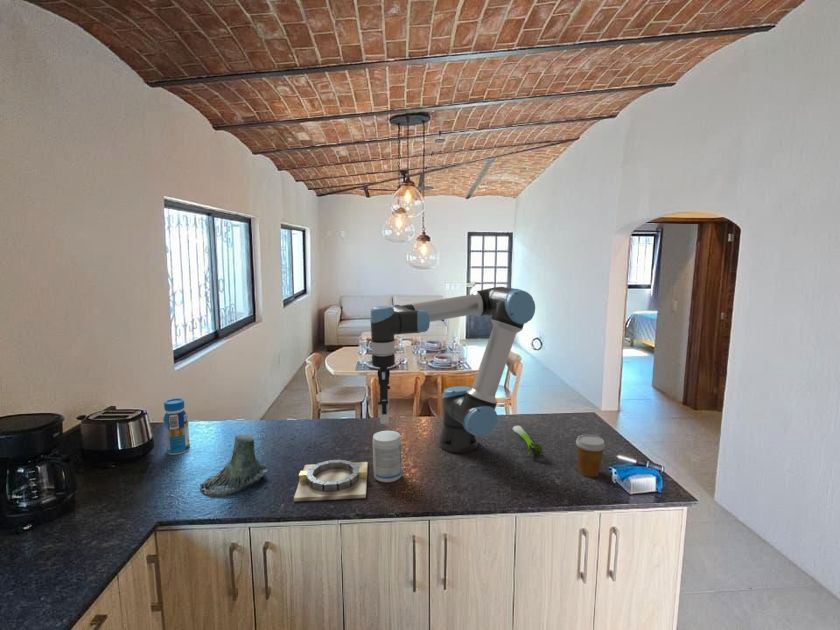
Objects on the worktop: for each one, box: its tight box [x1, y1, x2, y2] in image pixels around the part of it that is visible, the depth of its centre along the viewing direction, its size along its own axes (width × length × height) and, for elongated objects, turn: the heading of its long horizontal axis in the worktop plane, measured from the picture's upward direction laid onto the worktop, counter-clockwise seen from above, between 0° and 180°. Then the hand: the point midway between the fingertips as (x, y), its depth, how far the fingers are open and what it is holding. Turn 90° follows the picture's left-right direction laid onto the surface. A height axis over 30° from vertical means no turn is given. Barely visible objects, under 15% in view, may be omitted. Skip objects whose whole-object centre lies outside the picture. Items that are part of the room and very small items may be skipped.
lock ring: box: [298, 459, 368, 492], centre depth 157 cm, size 22×17×2 cm
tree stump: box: [200, 434, 268, 498], centre depth 158 cm, size 18×20×18 cm
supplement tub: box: [372, 430, 403, 483], centre depth 160 cm, size 10×10×15 cm
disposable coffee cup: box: [575, 434, 606, 478], centre depth 162 cm, size 10×10×12 cm
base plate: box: [293, 461, 369, 502], centre depth 157 cm, size 22×22×1 cm
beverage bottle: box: [162, 398, 191, 456], centre depth 181 cm, size 8×8×20 cm
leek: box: [512, 425, 543, 457], centre depth 185 cm, size 6×7×30 cm
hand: (384, 415), depth 158 cm, fingers open, 13 cm apart
